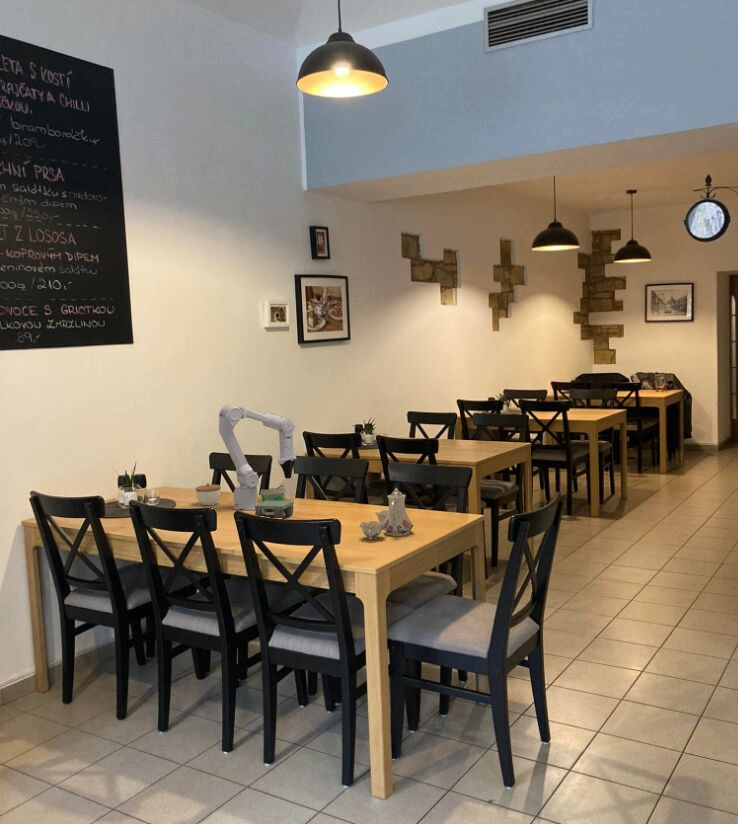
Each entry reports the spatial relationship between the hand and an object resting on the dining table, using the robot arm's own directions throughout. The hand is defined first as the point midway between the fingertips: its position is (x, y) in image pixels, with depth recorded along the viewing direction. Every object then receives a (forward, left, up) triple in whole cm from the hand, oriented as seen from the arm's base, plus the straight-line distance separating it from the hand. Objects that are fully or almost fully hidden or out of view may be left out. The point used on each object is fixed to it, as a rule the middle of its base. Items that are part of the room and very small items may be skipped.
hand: (288, 478), depth 348 cm
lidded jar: (-34, -9, -11) cm, 37 cm away
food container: (+3, -19, -11) cm, 22 cm away
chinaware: (+59, -46, -11) cm, 76 cm away
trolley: (+7, -30, -10) cm, 32 cm away
